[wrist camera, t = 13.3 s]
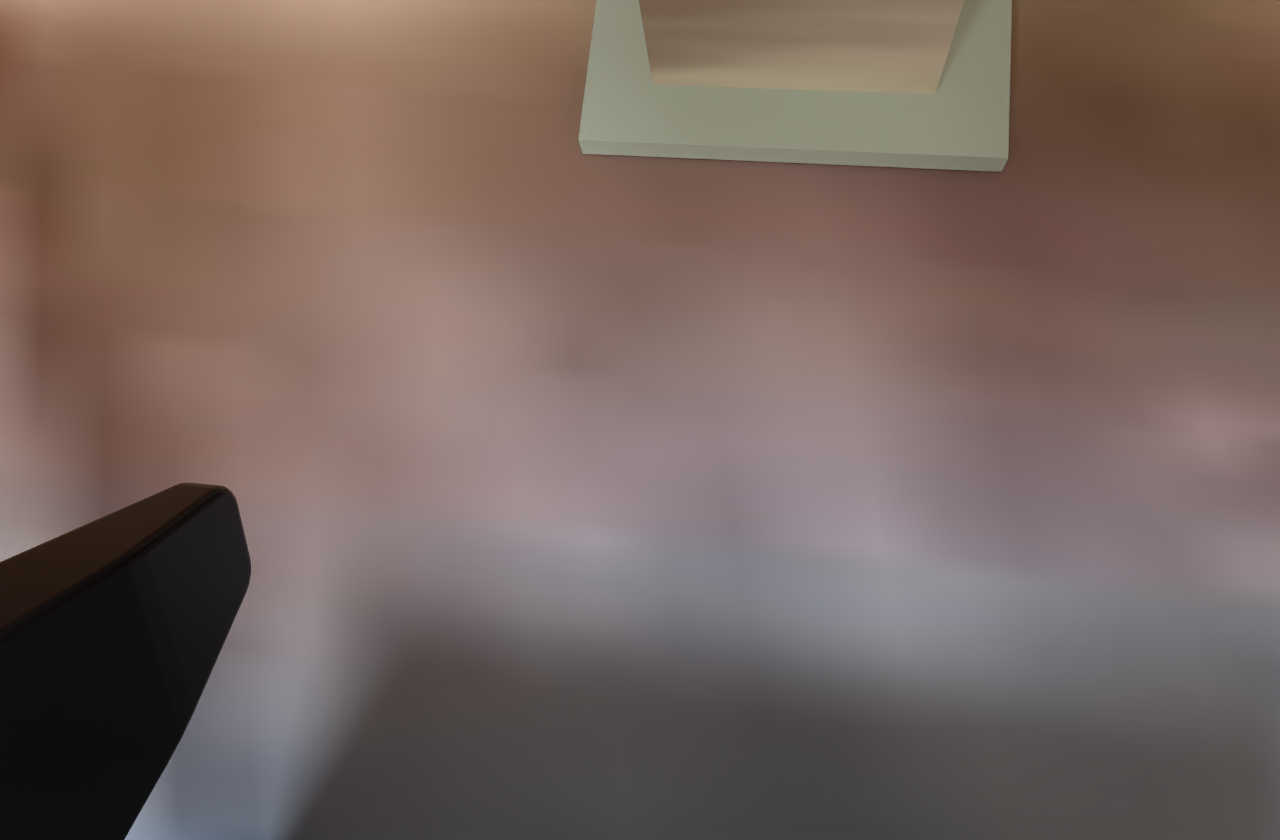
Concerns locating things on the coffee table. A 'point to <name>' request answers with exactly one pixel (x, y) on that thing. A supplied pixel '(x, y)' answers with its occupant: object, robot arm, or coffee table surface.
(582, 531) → the coffee table surface
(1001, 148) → the sage mat
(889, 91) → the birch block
